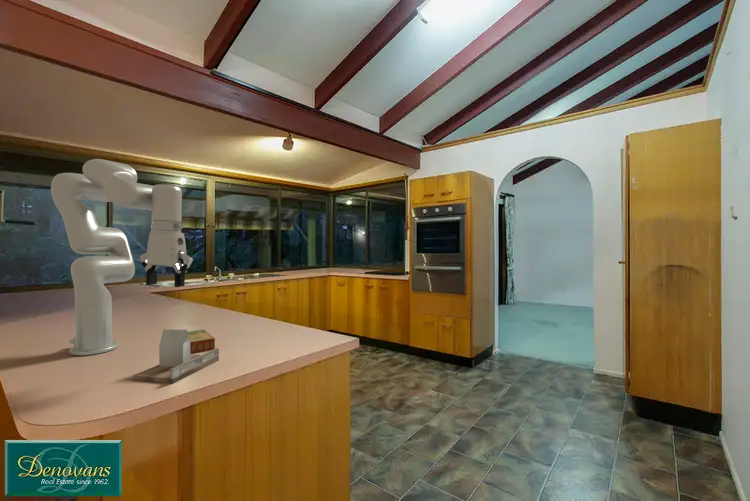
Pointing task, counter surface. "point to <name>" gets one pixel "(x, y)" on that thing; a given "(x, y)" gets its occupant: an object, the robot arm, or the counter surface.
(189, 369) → the shelf board
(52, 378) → the counter surface
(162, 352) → the tea bag
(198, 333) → the carton
